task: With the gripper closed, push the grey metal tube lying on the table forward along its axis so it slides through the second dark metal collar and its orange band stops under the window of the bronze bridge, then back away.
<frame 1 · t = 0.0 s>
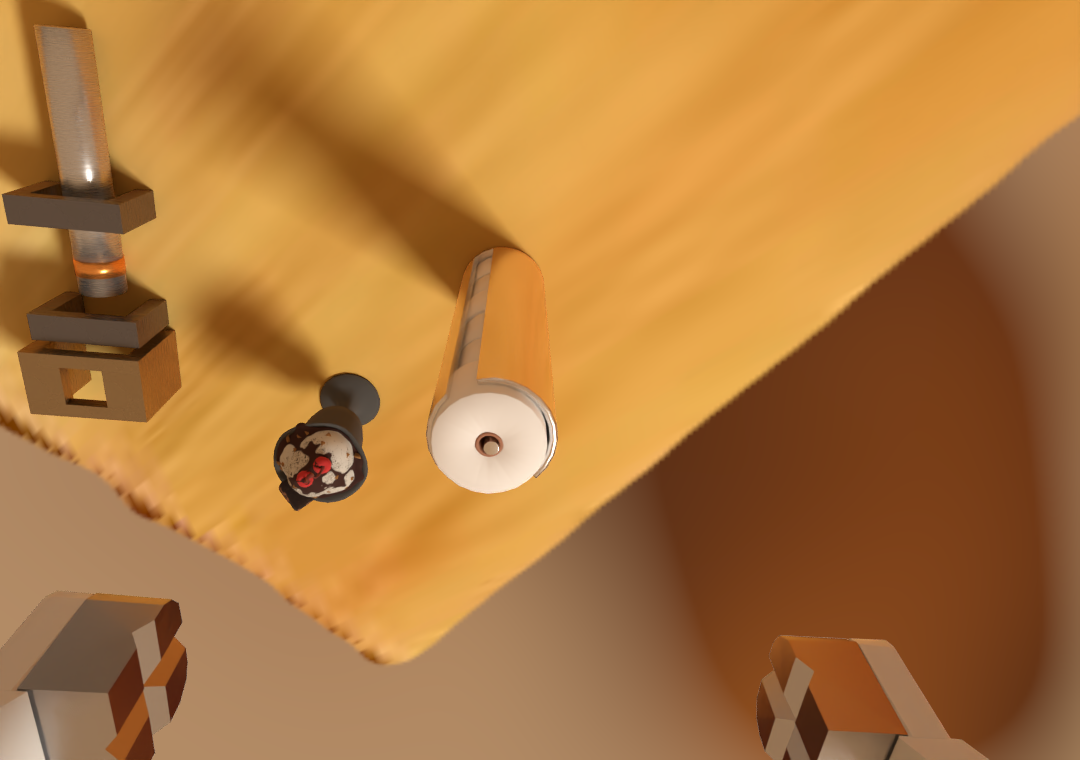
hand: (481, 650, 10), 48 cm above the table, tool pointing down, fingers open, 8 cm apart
sundae: (350, 398, 62), on the table
collar a: (101, 199, 54), on the table
collar b: (117, 308, 58), on the table
aperture bridge: (124, 354, 60), on the table
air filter: (503, 286, 58), on the table
tube: (96, 164, 53), on the table
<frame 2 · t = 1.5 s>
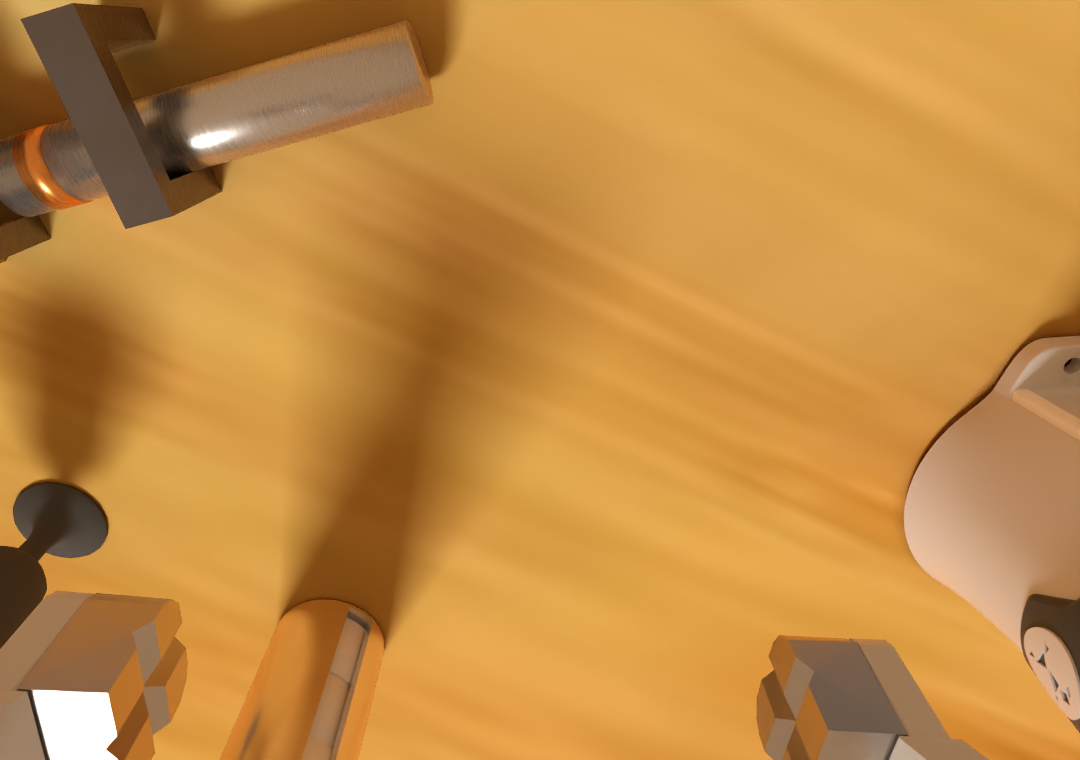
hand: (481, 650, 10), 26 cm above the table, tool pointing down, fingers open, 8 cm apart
sundae: (64, 517, 41), on the table
collar a: (162, 110, 32), on the table
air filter: (331, 637, 45), on the table
tube: (214, 97, 31), on the table, tilted 35°, touching collar a
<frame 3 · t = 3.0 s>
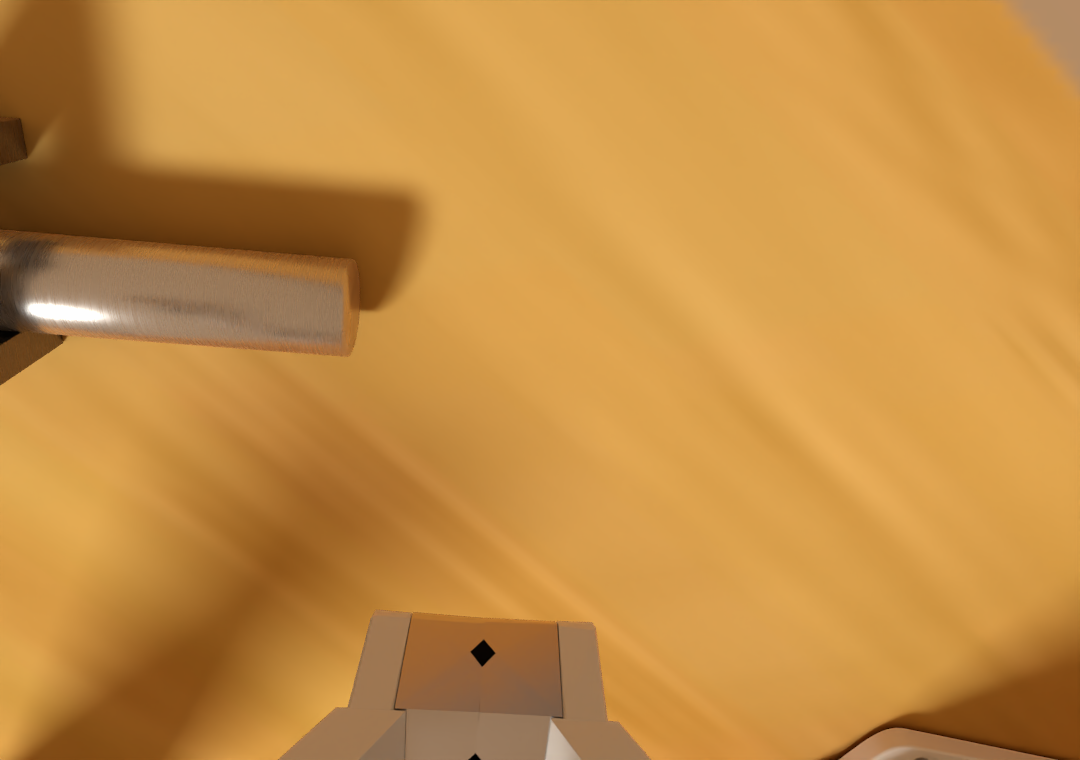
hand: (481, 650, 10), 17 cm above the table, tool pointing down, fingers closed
collar a: (11, 235, 25), on the table
tube: (84, 246, 24), on the table, tilted 35°, touching collar a
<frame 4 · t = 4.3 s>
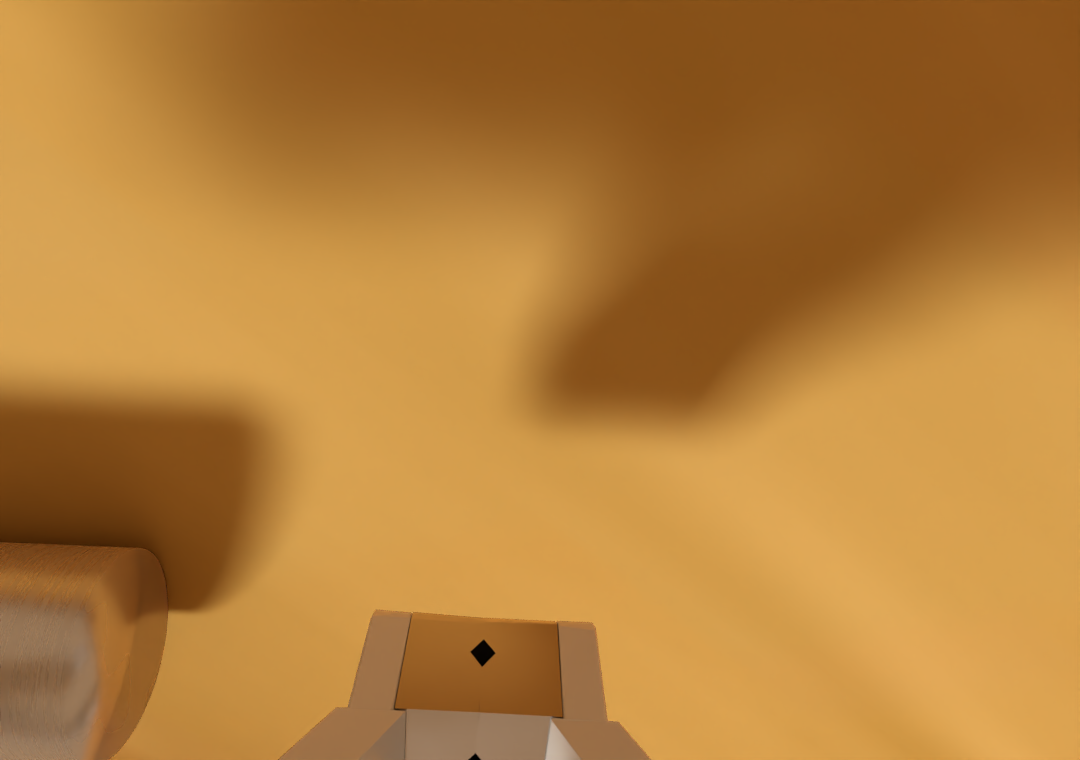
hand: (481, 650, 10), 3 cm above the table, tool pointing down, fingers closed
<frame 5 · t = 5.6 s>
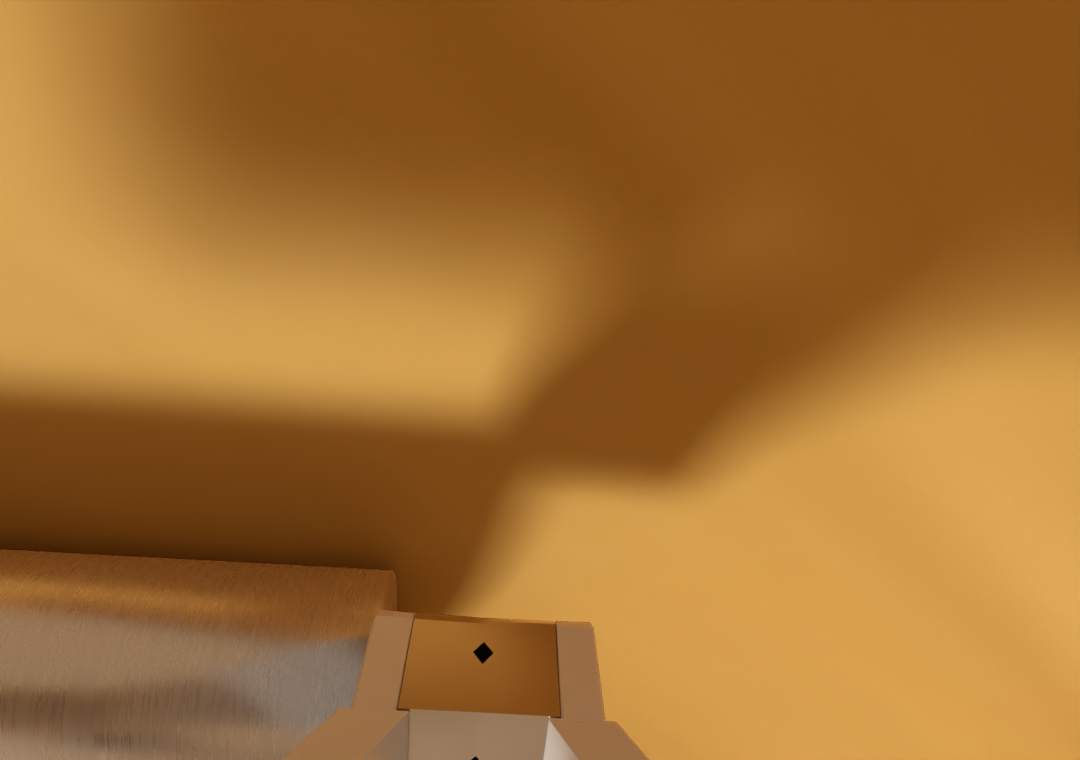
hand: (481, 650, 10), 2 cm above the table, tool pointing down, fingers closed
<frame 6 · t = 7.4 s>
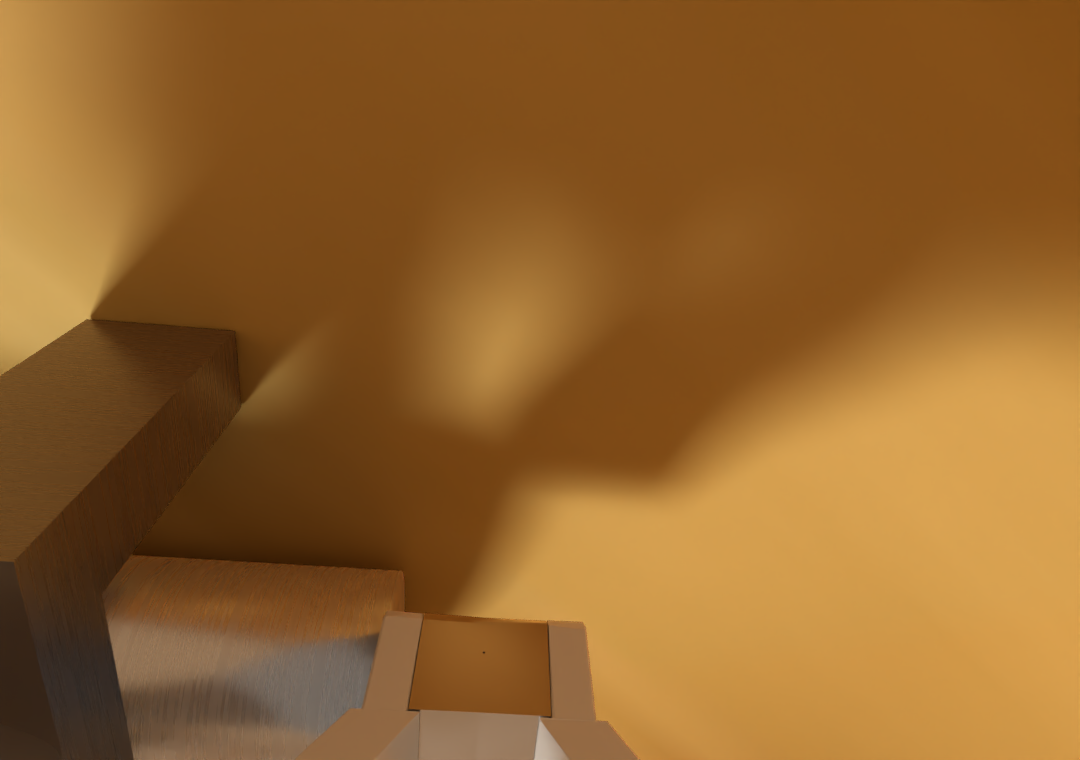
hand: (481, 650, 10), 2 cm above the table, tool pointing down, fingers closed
collar a: (189, 546, 12), on the table
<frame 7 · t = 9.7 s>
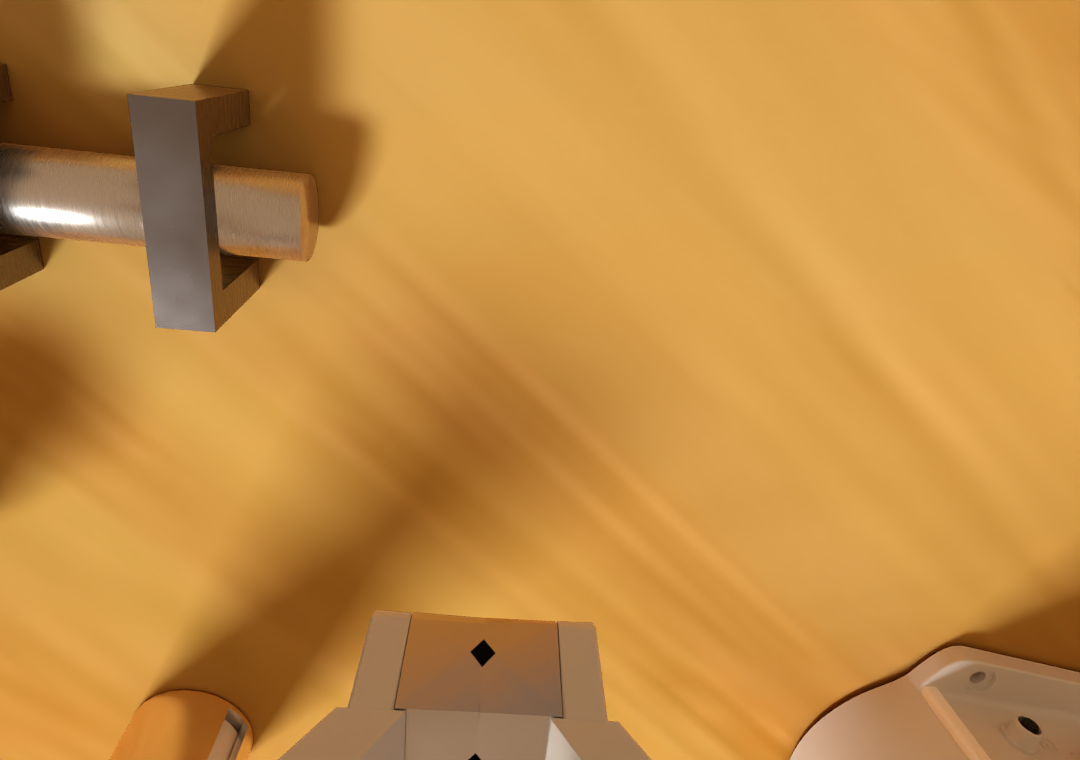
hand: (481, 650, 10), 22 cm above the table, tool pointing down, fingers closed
collar a: (228, 191, 29), on the table
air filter: (195, 727, 41), on the table
tube: (78, 177, 28), on the table, tilted 11°
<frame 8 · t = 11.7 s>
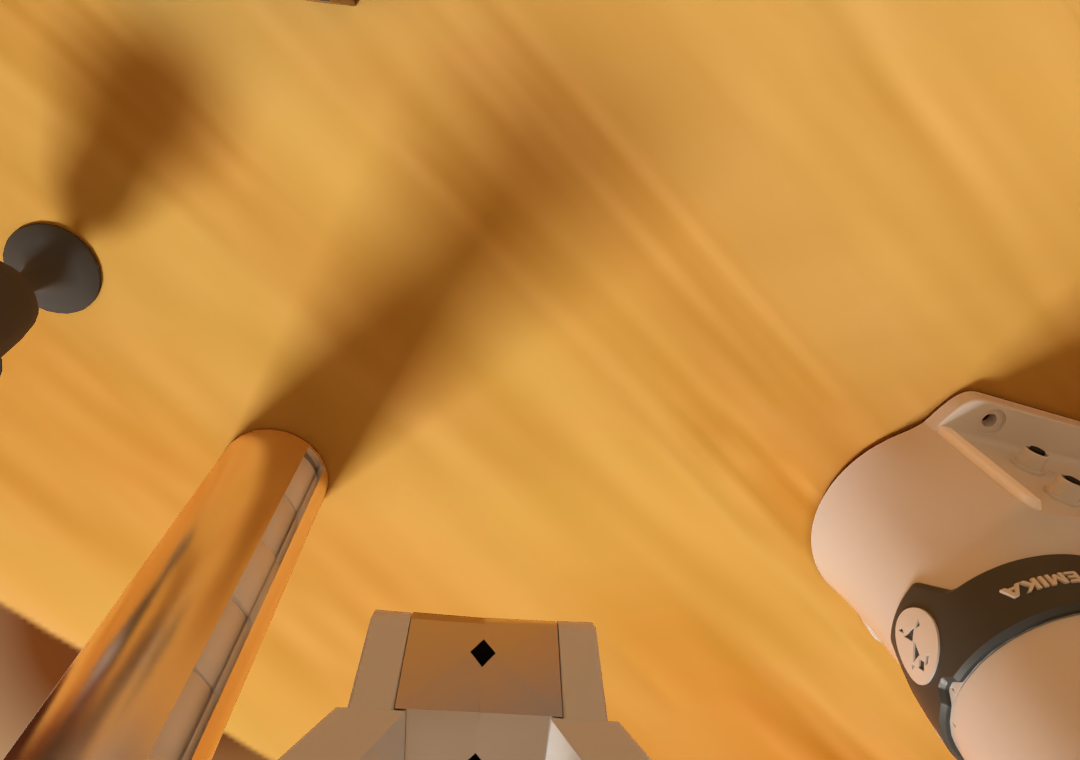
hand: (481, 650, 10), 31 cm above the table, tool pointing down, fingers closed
sundae: (56, 267, 40), on the table
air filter: (276, 472, 45), on the table
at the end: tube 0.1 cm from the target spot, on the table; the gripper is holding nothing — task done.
